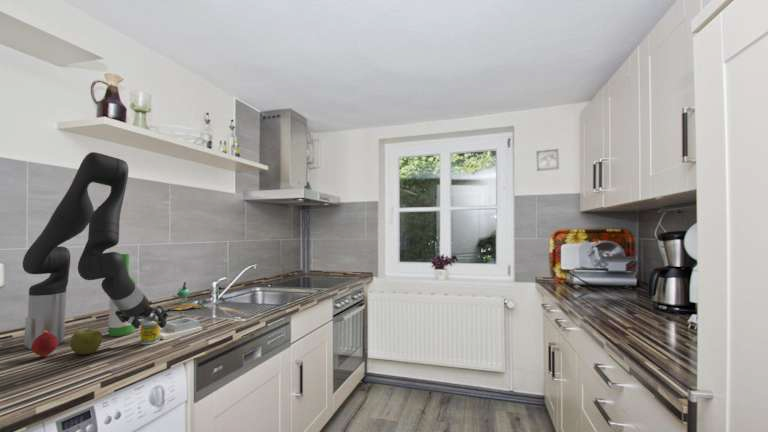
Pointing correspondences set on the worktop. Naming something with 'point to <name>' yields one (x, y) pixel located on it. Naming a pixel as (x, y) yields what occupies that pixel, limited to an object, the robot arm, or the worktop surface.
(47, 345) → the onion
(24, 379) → the worktop surface
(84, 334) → the apple
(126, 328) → the wine bottle
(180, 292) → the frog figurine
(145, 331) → the supplement bottle
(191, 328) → the end holder
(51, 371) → the worktop surface
